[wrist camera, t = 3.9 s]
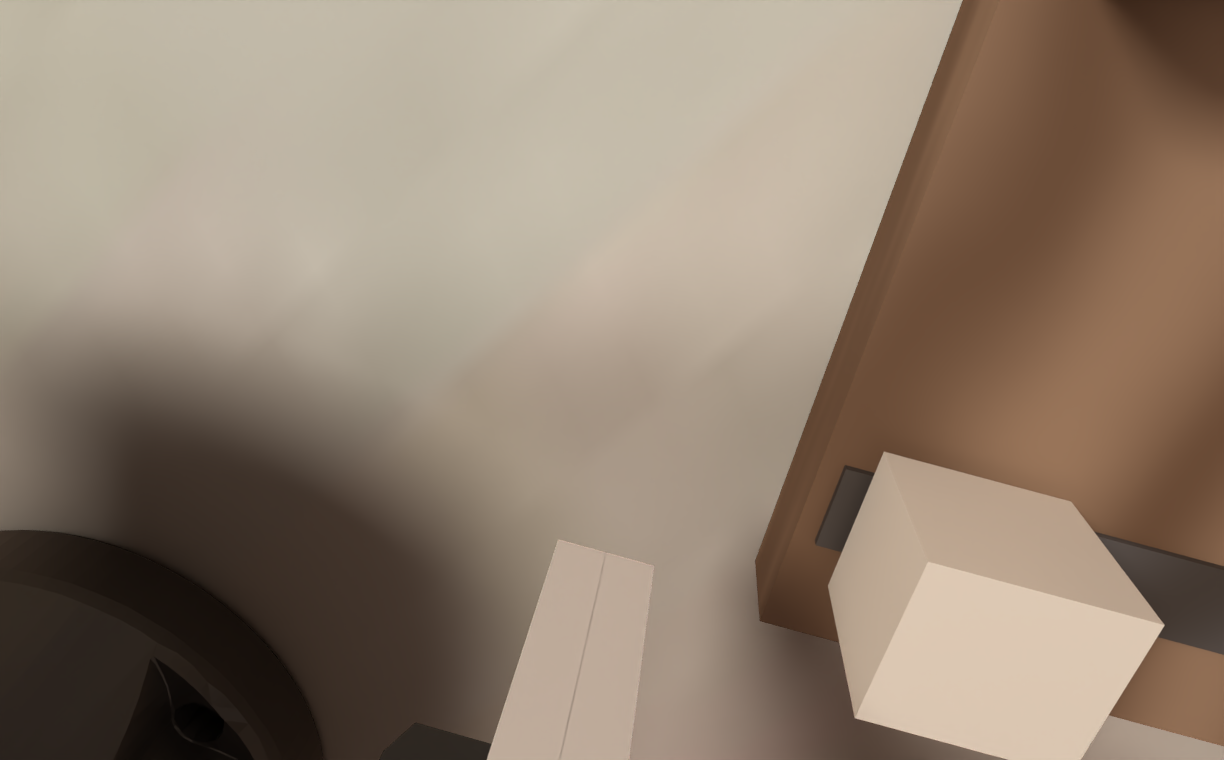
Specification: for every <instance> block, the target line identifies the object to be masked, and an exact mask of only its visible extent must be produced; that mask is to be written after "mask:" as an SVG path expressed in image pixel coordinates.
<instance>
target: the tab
mask: <svg viewBox="0 0 1224 760" xmlns="http://www.w3.org/2000/svg"><path fill="white" fill-rule="evenodd" d="M828 589H829V594H830V599H831V604H832V609H833V614H834V619H835V623H836V628H837V633H838V638H839V643H840V648H841V653H842V658H843V663H844V668H845V673H846V678H847V682H848V687H849V692H850V697H851V702H852V707H853V712H854V717H855V718H856V719H860V720H863V721H867V722H871V723H874V724H878V725H882V726H886V727H889V728H893V729H897V730H900V731H904V732H908V733H911V734H915V735H919V736H923V737H926V738H930V739H934V740H937V741H941V742H945V743H948V744H952V745H956V746H959V747H963V748H967V749H971V750H974V751H978V752H982V753H985V754H989V755H993V756H996V757H1000V758H1004V759H1007V760H1081V758H1082V757H1083V755H1084V754H1085V752H1086V750H1087V749H1088V747H1089V746H1090V744H1091V742H1092V741H1093V739H1094V738H1095V736H1096V734H1097V733H1098V731H1099V730H1100V728H1101V726H1102V725H1103V723H1104V722H1105V720H1106V718H1107V717H1108V715H1109V714H1110V712H1111V710H1112V709H1113V707H1114V706H1115V704H1116V702H1117V701H1118V699H1119V698H1120V696H1121V694H1122V693H1123V691H1124V690H1125V688H1126V686H1127V685H1128V683H1129V682H1130V680H1131V678H1132V677H1133V675H1134V674H1135V672H1136V670H1137V669H1138V667H1139V666H1140V664H1141V662H1142V661H1143V659H1144V658H1145V656H1146V654H1147V653H1148V651H1149V650H1150V648H1151V646H1152V645H1153V643H1154V642H1155V640H1156V638H1157V637H1158V635H1159V634H1160V632H1161V630H1162V629H1163V627H1164V626H1165V625H1164V624H1163V622H1162V621H1161V620H1160V618H1159V617H1158V616H1157V614H1156V613H1155V612H1154V610H1153V609H1152V608H1151V606H1150V605H1149V604H1148V602H1147V601H1146V600H1145V598H1144V597H1143V596H1142V594H1141V593H1140V592H1139V591H1138V589H1137V588H1136V587H1135V585H1134V584H1133V583H1132V581H1131V580H1130V579H1129V577H1128V576H1127V575H1126V573H1125V572H1124V571H1123V569H1122V568H1121V567H1120V565H1119V564H1118V563H1117V561H1116V560H1115V559H1114V557H1113V556H1112V555H1111V553H1110V552H1109V551H1108V550H1107V548H1106V547H1105V546H1104V544H1103V543H1102V542H1101V540H1100V539H1099V538H1098V536H1097V535H1096V534H1095V532H1094V531H1093V530H1092V528H1091V527H1090V526H1089V524H1088V523H1087V522H1086V520H1085V519H1084V518H1083V516H1082V515H1081V514H1080V513H1079V511H1078V510H1077V509H1076V507H1075V506H1074V505H1073V503H1072V502H1071V501H1067V500H1063V499H1060V498H1056V497H1052V496H1048V495H1045V494H1041V493H1037V492H1033V491H1030V490H1026V489H1022V488H1018V487H1015V486H1011V485H1007V484H1003V483H1000V482H996V481H992V480H988V479H985V478H981V477H977V476H973V475H970V474H966V473H962V472H959V471H955V470H951V469H947V468H944V467H940V466H936V465H932V464H929V463H925V462H921V461H917V460H914V459H910V458H906V457H902V456H899V455H895V454H891V453H887V452H884V453H883V455H882V457H881V460H880V462H879V465H878V467H877V469H876V472H875V474H874V476H873V479H872V481H871V484H870V486H869V488H868V491H867V493H866V496H865V498H864V500H863V503H862V505H861V508H860V510H859V512H858V515H857V517H856V520H855V522H854V524H853V527H852V529H851V532H850V534H849V536H848V539H847V541H846V544H845V546H844V548H843V551H842V553H841V556H840V558H839V560H838V563H837V565H836V567H835V570H834V572H833V575H832V577H831V579H830V582H829V584H828Z"/></svg>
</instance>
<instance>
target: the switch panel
mask: <svg viewBox="0 0 1224 760" xmlns="http://www.w3.org/2000/svg"><path fill="white" fill-rule="evenodd" d="M884 452H887V453H891V454H895V455H899V456H902V457H906V458H910V459H914V460H917V461H921V462H925V463H929V464H932V465H936V466H940V467H944V468H947V469H951V470H955V471H959V472H962V473H966V474H970V475H973V476H977V477H981V478H985V479H988V480H992V481H996V482H1000V483H1003V484H1007V485H1011V486H1015V487H1018V488H1022V489H1026V490H1030V491H1033V492H1037V493H1041V494H1045V495H1048V496H1052V497H1056V498H1060V499H1063V500H1067V501H1071V502H1072V503H1073V505H1074V506H1075V507H1076V509H1077V510H1078V511H1079V513H1080V514H1081V515H1082V516H1083V518H1084V519H1085V520H1086V522H1087V523H1088V524H1089V526H1090V527H1091V528H1092V530H1093V531H1094V532H1095V534H1096V535H1097V536H1098V538H1099V539H1100V540H1101V542H1102V543H1103V544H1104V546H1105V547H1106V548H1107V550H1108V551H1109V552H1110V553H1111V555H1112V556H1113V557H1114V559H1115V560H1116V561H1117V563H1118V564H1119V565H1120V567H1121V568H1122V569H1123V571H1124V572H1125V573H1126V575H1127V576H1128V577H1129V579H1130V580H1131V581H1132V583H1133V584H1134V585H1135V587H1136V588H1137V589H1138V591H1139V592H1140V593H1141V594H1142V596H1143V597H1144V598H1145V600H1146V601H1147V602H1148V604H1149V605H1150V606H1151V608H1152V609H1153V610H1154V612H1155V613H1156V614H1157V616H1158V617H1159V618H1160V620H1161V621H1162V622H1163V624H1164V625H1165V626H1164V627H1163V629H1162V630H1161V632H1160V634H1159V635H1158V637H1157V638H1156V640H1155V642H1154V643H1153V645H1152V646H1151V648H1150V650H1149V651H1148V653H1147V654H1146V656H1145V658H1144V659H1143V661H1142V662H1141V664H1140V666H1139V667H1138V669H1137V670H1136V672H1135V674H1134V675H1133V677H1132V678H1131V680H1130V682H1129V683H1128V685H1127V686H1126V688H1125V690H1124V691H1123V693H1122V694H1121V696H1120V698H1119V699H1118V701H1117V702H1116V704H1115V706H1114V707H1113V709H1112V710H1111V712H1110V714H1109V715H1110V716H1114V717H1118V718H1121V719H1125V720H1129V721H1132V722H1136V723H1140V724H1143V725H1147V726H1151V727H1155V728H1158V729H1162V730H1166V731H1169V732H1173V733H1177V734H1181V735H1184V736H1188V737H1192V738H1195V739H1199V740H1203V741H1206V742H1210V743H1214V744H1218V745H1221V746H1224V0H963V1H962V4H961V7H960V10H959V12H958V15H957V18H956V20H955V23H954V26H953V28H952V31H951V34H950V37H949V39H948V42H947V45H946V47H945V50H944V53H943V55H942V58H941V61H940V64H939V66H938V69H937V72H936V74H935V77H934V80H933V82H932V85H931V88H930V91H929V93H928V96H927V99H926V101H925V104H924V107H923V109H922V112H921V115H920V118H919V120H918V123H917V126H916V128H915V131H914V134H913V136H912V139H911V142H910V145H909V147H908V150H907V153H906V155H905V158H904V161H903V163H902V166H901V169H900V172H899V174H898V177H897V180H896V182H895V185H894V188H893V190H892V193H891V196H890V199H889V201H888V204H887V207H886V209H885V212H884V215H883V217H882V220H881V223H880V226H879V228H878V231H877V234H876V236H875V239H874V242H873V244H872V247H871V250H870V253H869V255H868V258H867V261H866V263H865V266H864V269H863V271H862V274H861V277H860V280H859V282H858V285H857V288H856V290H855V293H854V296H853V298H852V301H851V304H850V307H849V309H848V312H847V315H846V317H845V320H844V323H843V325H842V328H841V331H840V334H839V336H838V339H837V342H836V344H835V347H834V350H833V352H832V355H831V358H830V361H829V363H828V366H827V369H826V371H825V374H824V377H823V379H822V382H821V385H820V388H819V390H818V393H817V396H816V398H815V401H814V404H813V406H812V409H811V412H810V414H809V417H808V420H807V423H806V425H805V428H804V431H803V433H802V436H801V439H800V441H799V444H798V447H797V450H796V452H795V455H794V458H793V460H792V463H791V466H790V468H789V471H788V474H787V477H786V479H785V482H784V485H783V487H782V490H781V493H780V495H779V498H778V501H777V504H776V506H775V509H774V512H773V514H772V517H771V520H770V522H769V525H768V528H767V531H766V533H765V536H764V539H763V541H762V544H761V547H760V549H759V552H758V555H757V558H756V560H755V564H756V577H757V590H758V603H759V616H760V621H762V622H765V623H769V624H773V625H777V626H780V627H784V628H788V629H791V630H795V631H799V632H802V633H806V634H810V635H814V636H817V637H821V638H825V639H828V640H832V641H836V642H839V638H838V633H837V628H836V623H835V619H834V614H833V609H832V604H831V599H830V594H829V589H828V584H829V582H830V579H831V577H832V575H833V572H834V570H835V567H836V565H837V563H838V560H839V558H840V556H841V553H842V551H843V548H844V546H845V544H846V541H847V539H848V536H849V534H850V532H851V529H852V527H853V524H854V522H855V520H856V517H857V515H858V512H859V510H860V508H861V505H862V503H863V500H864V498H865V496H866V493H867V491H868V488H869V486H870V484H871V481H872V479H873V476H874V474H875V472H876V469H877V467H878V465H879V462H880V460H881V457H882V455H883V453H884Z"/></svg>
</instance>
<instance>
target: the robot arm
mask: <svg viewBox="0 0 1224 760" xmlns="http://www.w3.org/2000/svg"><path fill="white" fill-rule="evenodd" d="M653 571H654V565H650V564H647V563H643V562H639V561H636V560H632V559H629V558H625V557H621V556H618V555H614V554H610V553H607V552H603V551H599V550H596V549H592V548H588V547H585V546H581V545H578V544H574V543H570V542H567V541H563V540H559V539H558V541H557V544H556V548H555V551H554V554H553V557H552V560H551V563H550V566H549V569H548V572H547V575H546V578H545V581H544V585H543V588H542V591H541V594H540V597H539V600H538V603H537V606H536V609H535V612H534V615H533V618H532V622H531V625H530V628H529V631H528V634H527V637H526V640H525V643H524V646H523V649H522V652H521V655H520V659H519V662H518V665H517V668H516V671H515V674H514V677H513V680H512V683H511V686H510V689H509V692H508V696H507V699H506V702H505V705H504V708H503V711H502V714H501V717H500V720H499V723H498V726H497V729H496V733H495V736H494V739H493V742H492V744H489V743H486V742H482V741H479V740H475V739H471V738H468V737H464V736H461V735H457V734H454V733H450V732H446V731H443V730H439V729H436V728H432V727H429V726H425V725H421V724H418V723H415V724H414V725H412V726H411V727H410V728H409V729H408V730H407V731H406V732H405V733H403V734H402V735H401V736H400V737H399V738H398V739H397V740H396V741H395V742H393V743H392V744H391V745H390V746H389V747H388V748H387V749H386V750H384V751H383V753H382V755H381V757H380V759H379V760H629V757H630V749H631V742H632V734H633V726H634V718H635V710H636V703H637V695H638V687H639V679H640V672H641V664H642V656H643V648H644V641H645V633H646V625H647V617H648V610H649V602H650V594H651V586H652V578H653ZM0 760H323V755H322V750H321V745H320V741H319V737H318V734H317V730H316V727H315V724H314V722H313V719H312V716H311V714H310V711H309V709H308V707H307V705H306V703H305V701H304V699H303V697H302V695H301V693H300V692H299V690H298V688H297V686H296V685H295V683H294V681H293V680H292V678H291V677H290V675H289V674H288V672H287V671H286V669H285V668H284V667H283V665H282V664H281V663H280V661H279V660H278V659H277V657H276V656H275V655H274V654H273V653H272V651H271V650H270V649H269V648H268V647H267V646H266V644H265V643H264V642H263V641H262V640H261V639H260V638H259V637H258V636H257V635H256V634H255V633H254V632H253V631H252V630H251V629H250V628H249V627H248V626H247V625H246V624H245V623H244V622H243V621H242V620H241V619H239V618H238V617H237V616H236V615H235V614H234V613H232V612H231V611H230V610H229V609H228V608H226V607H225V606H224V605H223V604H221V603H220V602H219V601H217V600H216V599H215V598H213V597H212V596H211V595H209V594H208V593H206V592H205V591H204V590H202V589H200V588H199V587H197V586H196V585H194V584H193V583H191V582H190V581H188V580H186V579H185V578H183V577H181V576H179V575H178V574H176V573H174V572H172V571H171V570H169V569H167V568H165V567H163V566H161V565H159V564H157V563H155V562H153V561H150V560H148V559H146V558H143V557H141V556H139V555H136V554H134V553H131V552H129V551H126V550H123V549H121V548H118V547H115V546H112V545H109V544H105V543H102V542H99V541H95V540H91V539H87V538H83V537H78V536H73V535H67V534H62V533H55V532H45V531H30V530H10V531H0Z"/></svg>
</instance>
